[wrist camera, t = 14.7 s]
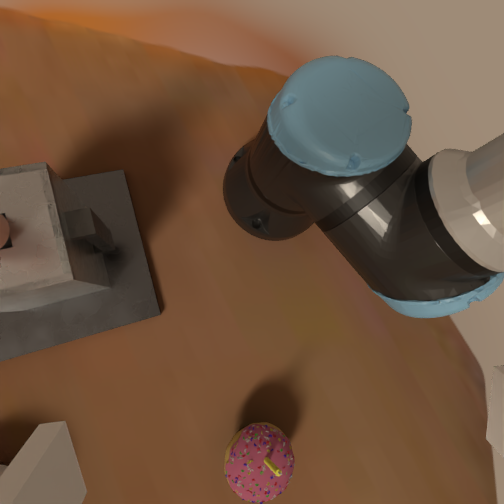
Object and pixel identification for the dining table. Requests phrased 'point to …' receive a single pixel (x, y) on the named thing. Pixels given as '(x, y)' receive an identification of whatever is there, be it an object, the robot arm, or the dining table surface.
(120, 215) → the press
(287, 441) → the cupcake
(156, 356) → the dining table surface
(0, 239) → the salmon orange cylinder
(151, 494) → the dining table surface
